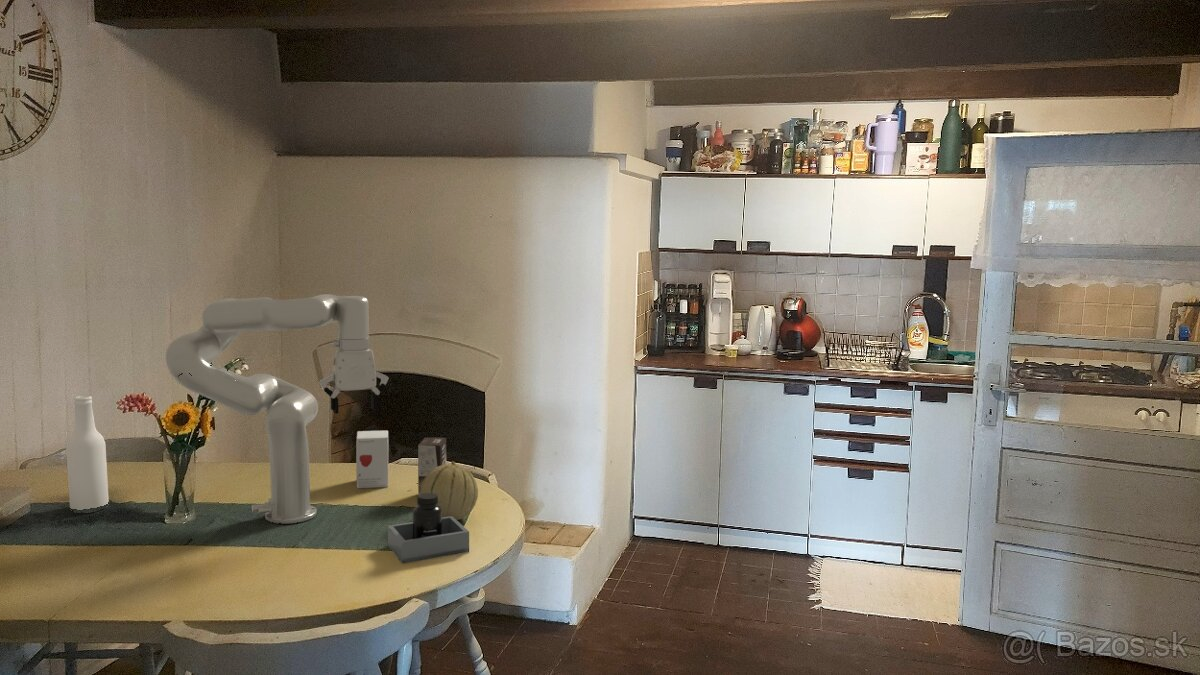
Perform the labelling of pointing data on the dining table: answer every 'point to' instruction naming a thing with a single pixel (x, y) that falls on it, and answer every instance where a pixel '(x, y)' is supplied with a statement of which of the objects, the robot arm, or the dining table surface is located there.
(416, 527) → the supplement bottle
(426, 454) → the coffee box
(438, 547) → the tote
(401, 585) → the dining table surface
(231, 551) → the dining table surface
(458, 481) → the cantaloupe
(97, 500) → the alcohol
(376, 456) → the supplement box
